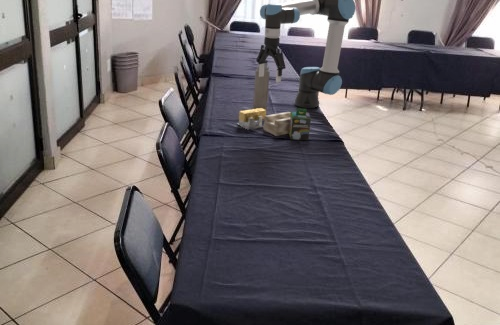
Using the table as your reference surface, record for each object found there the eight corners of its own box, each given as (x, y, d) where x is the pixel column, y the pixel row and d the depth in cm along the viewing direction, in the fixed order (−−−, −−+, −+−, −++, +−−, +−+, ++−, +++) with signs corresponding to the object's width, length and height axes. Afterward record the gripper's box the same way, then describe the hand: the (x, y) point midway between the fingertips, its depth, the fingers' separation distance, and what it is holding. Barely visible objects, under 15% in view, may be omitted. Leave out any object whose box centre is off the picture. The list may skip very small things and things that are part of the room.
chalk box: (306, 134, 225) (310, 106, 220) (308, 140, 217) (312, 111, 211) (288, 133, 225) (291, 104, 219) (289, 139, 217) (293, 110, 211)
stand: (252, 122, 238) (253, 111, 235) (263, 127, 231) (263, 116, 229) (237, 124, 232) (237, 113, 230) (247, 130, 226) (248, 118, 223)
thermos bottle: (267, 107, 265) (271, 59, 254) (265, 111, 258) (269, 62, 247) (254, 106, 266) (257, 58, 255) (251, 109, 259) (255, 60, 248)
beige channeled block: (287, 125, 237) (288, 111, 234) (300, 131, 229) (301, 117, 226) (263, 129, 227) (264, 115, 224) (276, 135, 220) (277, 121, 217)
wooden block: (260, 116, 237) (261, 107, 235) (265, 118, 233) (266, 110, 232) (238, 119, 229) (239, 111, 227) (244, 122, 225) (244, 113, 224)
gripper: (250, 33, 228) (249, 74, 237) (283, 41, 210) (279, 85, 219) (262, 32, 233) (260, 73, 241) (294, 40, 215) (291, 83, 223)
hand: (269, 79), depth 230 cm, fingers open, 13 cm apart
